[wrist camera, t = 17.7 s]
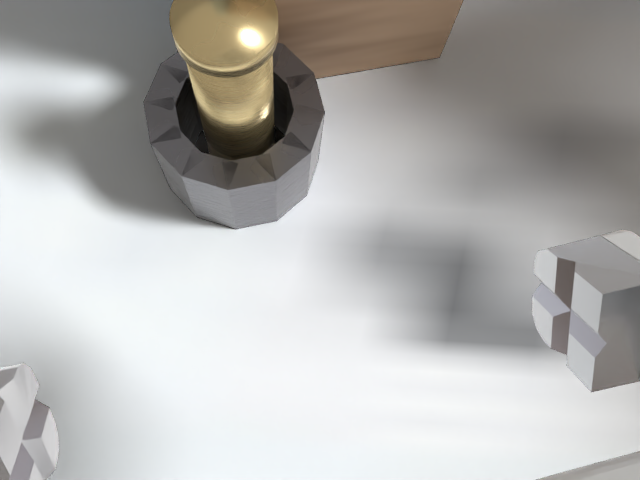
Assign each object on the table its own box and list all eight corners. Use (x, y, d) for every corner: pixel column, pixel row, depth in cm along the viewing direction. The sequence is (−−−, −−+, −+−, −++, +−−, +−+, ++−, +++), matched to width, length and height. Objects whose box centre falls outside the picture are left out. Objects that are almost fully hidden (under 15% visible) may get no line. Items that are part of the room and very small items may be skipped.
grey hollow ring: (330, 210, 28) (340, 168, 23) (179, 240, 27) (160, 203, 23) (282, 24, 31) (282, -43, 26) (145, 45, 30) (122, -20, 26)
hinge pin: (294, 160, 28) (300, 21, 19) (239, 204, 28) (218, 82, 18) (246, 112, 29) (229, -45, 20) (192, 155, 28) (146, 11, 19)
